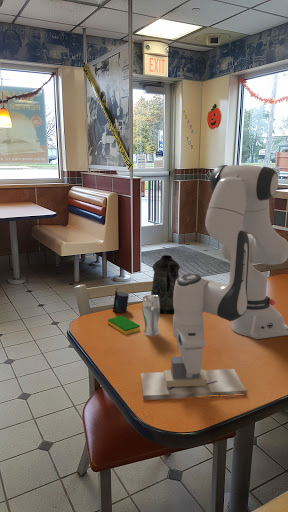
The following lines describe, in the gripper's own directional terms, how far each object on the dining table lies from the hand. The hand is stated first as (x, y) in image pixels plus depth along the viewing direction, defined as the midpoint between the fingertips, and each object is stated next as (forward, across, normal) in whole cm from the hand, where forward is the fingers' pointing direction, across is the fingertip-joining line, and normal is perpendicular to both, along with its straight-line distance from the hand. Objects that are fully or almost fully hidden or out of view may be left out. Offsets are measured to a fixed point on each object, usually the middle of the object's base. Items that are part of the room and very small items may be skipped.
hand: (187, 371), depth 116 cm
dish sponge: (+6, -45, -18) cm, 49 cm away
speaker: (+5, -63, -19) cm, 66 cm away
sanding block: (+3, 0, -1) cm, 3 cm away
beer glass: (+5, -38, -7) cm, 39 cm away
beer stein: (+5, -63, +3) cm, 63 cm away
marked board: (+5, 0, +1) cm, 5 cm away
